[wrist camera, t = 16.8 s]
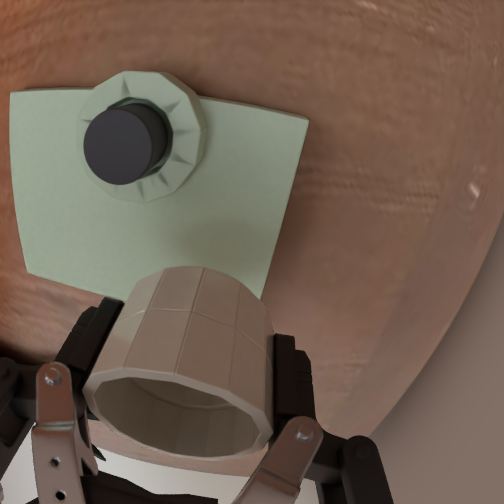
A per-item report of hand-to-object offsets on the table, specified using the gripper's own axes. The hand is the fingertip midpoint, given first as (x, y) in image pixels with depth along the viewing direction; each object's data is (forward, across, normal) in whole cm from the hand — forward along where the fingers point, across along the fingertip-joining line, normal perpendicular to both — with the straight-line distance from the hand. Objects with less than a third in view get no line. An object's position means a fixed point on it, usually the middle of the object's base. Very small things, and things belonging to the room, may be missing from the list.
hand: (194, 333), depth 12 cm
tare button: (+5, +4, -6) cm, 9 cm away
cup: (+1, 0, 0) cm, 1 cm away
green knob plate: (+7, +5, -1) cm, 9 cm away
